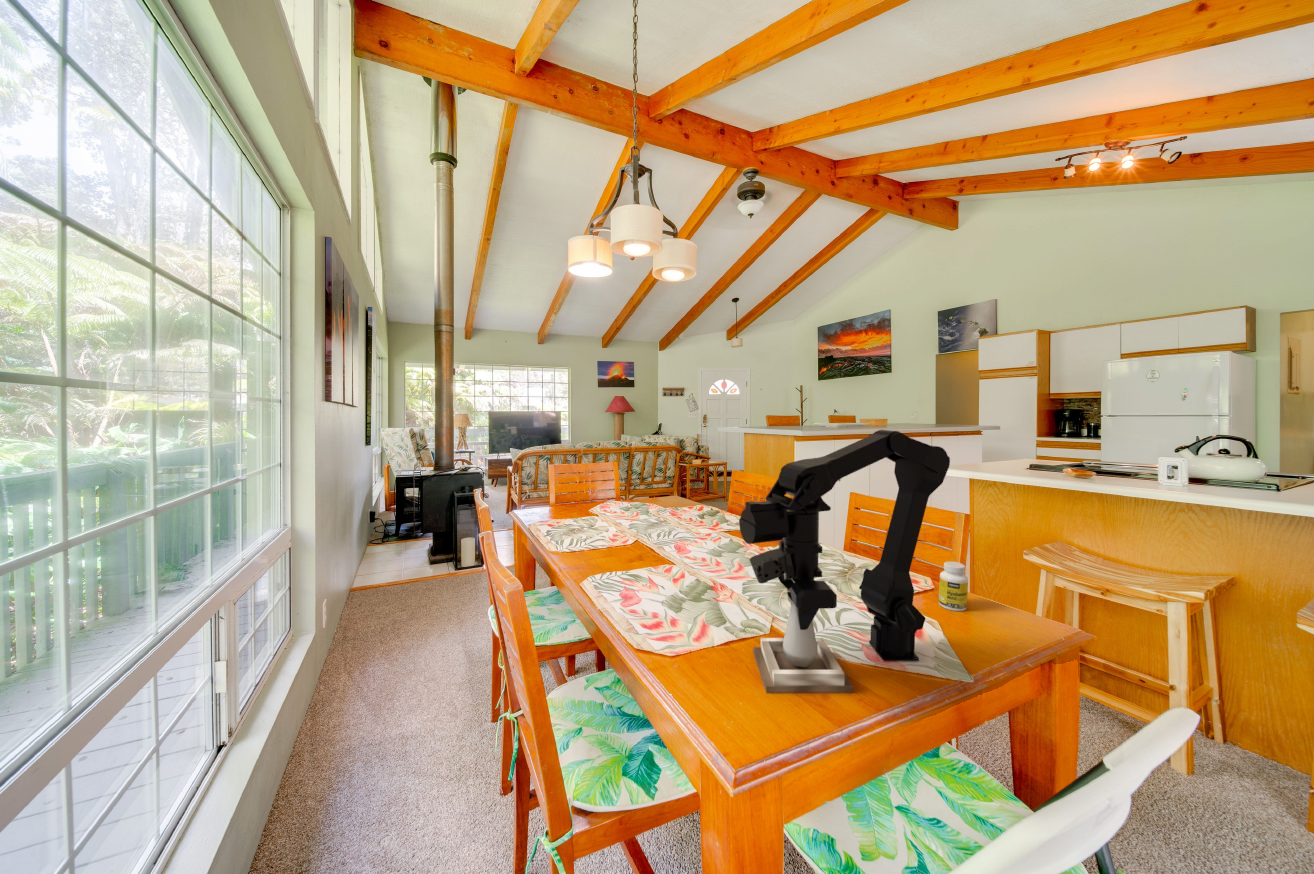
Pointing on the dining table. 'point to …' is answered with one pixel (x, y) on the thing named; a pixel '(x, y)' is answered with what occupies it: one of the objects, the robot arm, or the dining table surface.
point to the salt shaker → (799, 640)
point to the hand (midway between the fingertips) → (800, 624)
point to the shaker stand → (799, 670)
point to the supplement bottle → (953, 587)
